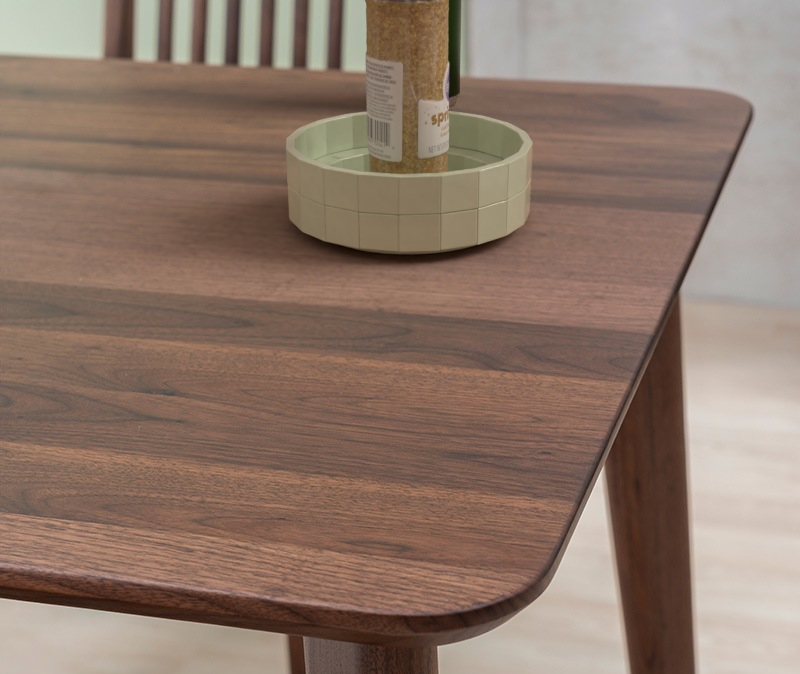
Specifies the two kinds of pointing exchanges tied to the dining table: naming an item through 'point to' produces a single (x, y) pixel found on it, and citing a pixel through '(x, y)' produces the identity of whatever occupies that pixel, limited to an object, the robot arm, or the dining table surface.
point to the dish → (409, 187)
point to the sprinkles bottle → (407, 86)
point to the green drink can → (454, 49)
